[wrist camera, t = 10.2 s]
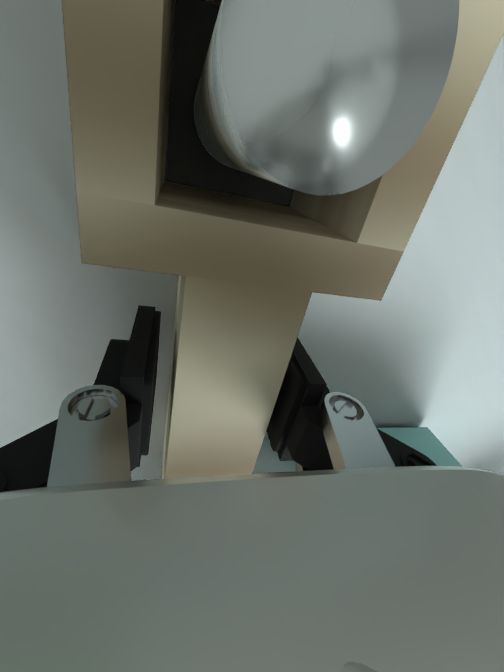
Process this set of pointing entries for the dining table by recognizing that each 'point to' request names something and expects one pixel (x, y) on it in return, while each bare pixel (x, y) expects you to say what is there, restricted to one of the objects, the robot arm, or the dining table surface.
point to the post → (322, 87)
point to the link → (233, 224)
